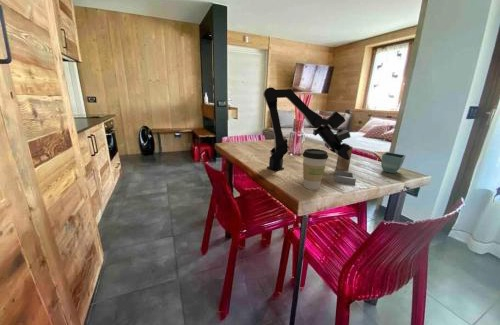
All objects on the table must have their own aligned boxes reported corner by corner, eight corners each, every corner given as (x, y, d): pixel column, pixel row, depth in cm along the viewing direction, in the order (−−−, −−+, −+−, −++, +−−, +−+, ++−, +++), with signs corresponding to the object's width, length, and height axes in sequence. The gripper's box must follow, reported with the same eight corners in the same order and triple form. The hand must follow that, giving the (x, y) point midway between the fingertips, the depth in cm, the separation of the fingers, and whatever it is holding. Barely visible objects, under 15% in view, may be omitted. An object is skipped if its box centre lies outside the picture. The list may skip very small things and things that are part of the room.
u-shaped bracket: (334, 181, 96) (335, 176, 95) (335, 174, 104) (336, 169, 103) (355, 184, 93) (356, 179, 92) (354, 177, 101) (355, 172, 100)
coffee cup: (320, 193, 83) (325, 155, 78) (295, 187, 88) (299, 151, 83) (326, 185, 91) (331, 150, 86) (303, 180, 96) (307, 147, 91)
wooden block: (339, 171, 108) (343, 146, 105) (335, 169, 113) (339, 144, 109) (348, 172, 108) (352, 146, 105) (344, 169, 113) (348, 144, 109)
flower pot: (401, 171, 112) (405, 155, 109) (398, 175, 105) (402, 158, 103) (382, 167, 117) (386, 151, 115) (378, 171, 111) (381, 154, 109)
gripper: (349, 126, 95) (370, 152, 98) (333, 122, 113) (351, 143, 116) (329, 144, 97) (349, 168, 100) (317, 136, 115) (334, 157, 118)
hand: (346, 158), depth 109 cm, fingers closed on wooden block, 4 cm apart
